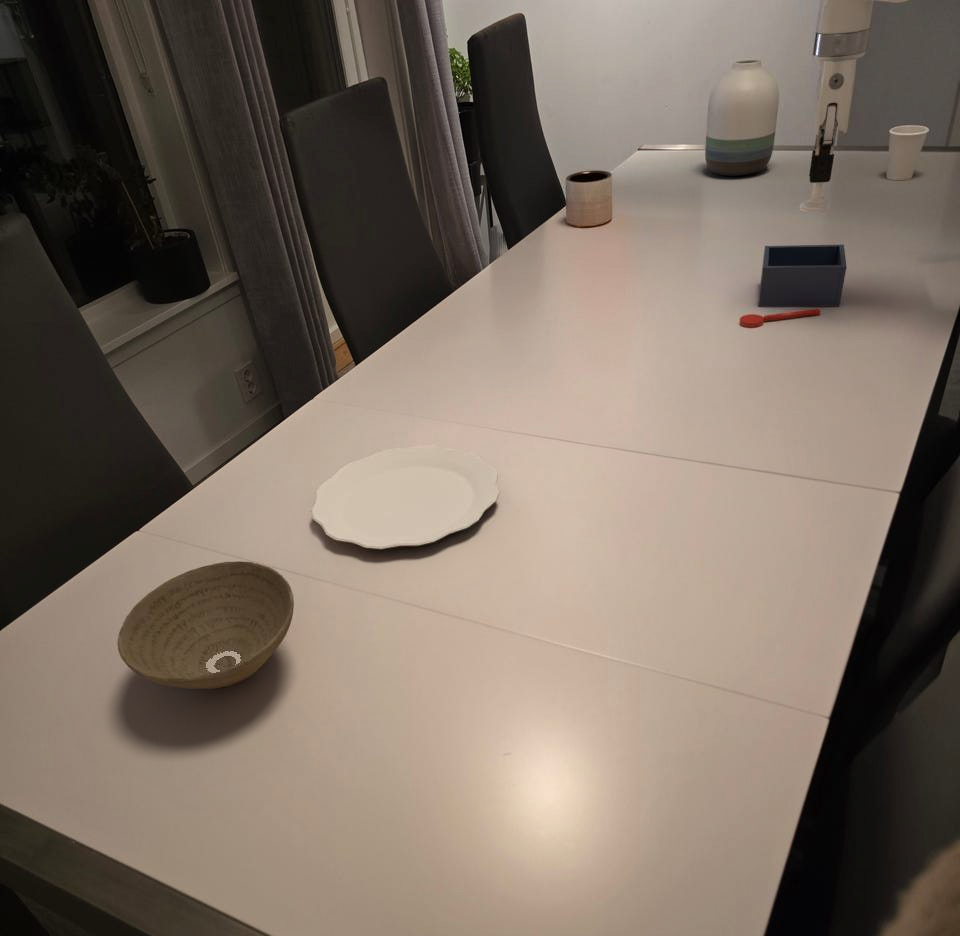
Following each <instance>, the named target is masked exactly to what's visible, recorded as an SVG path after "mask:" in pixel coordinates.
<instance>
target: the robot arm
mask: <svg viewBox="0 0 960 936" xmlns="http://www.w3.org/2000/svg"><path fill="white" fill-rule="evenodd" d="M908 1H909V0H819V3H818V4H819V5H818V11H817V12H818V13H817V19H816V20H817V21H816V26H815V35H814V41H813V49H812V56H811V59H812V60H814V61H819V64H818V71H817V78H816V87H815V96H814V104H813V105H814V107H813V132H814V134H815V140H814V147H813V148H814V150H812V153H811V159H810V165H809V166H810V167H809V174H808V175H809V183H811V184H815V183H819V182H822V183H829V182H830V181H831V177H832V171H833V164H834V159H835V153H834V151H835V146H836V139H837V135H838V134H837V132H838V131H839V132H841V134H842V135H845V134H846V133H847V132H848V127H849V120H850V112H851V106H852V100H853V94H854V87H855V79H856V72H857V71H856V70H857V61H858V60H857V59H860V58H863V57H864V56H865V54H866V50H867V49H866V48H867V44H868V43H867V42H868V38H869V31H870V27H871V26H870V25H871V19H872V13H873V8H874V2H884V3H895V4H897V3H905V2H908Z"/></svg>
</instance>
